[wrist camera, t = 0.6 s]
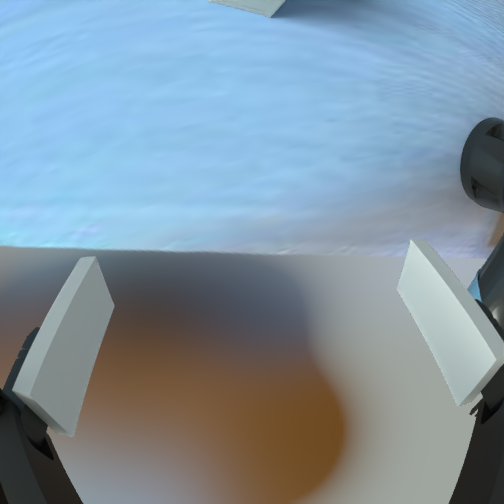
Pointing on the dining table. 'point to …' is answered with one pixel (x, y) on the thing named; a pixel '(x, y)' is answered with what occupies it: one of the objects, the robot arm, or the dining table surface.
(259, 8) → the supplement box
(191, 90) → the dining table surface
